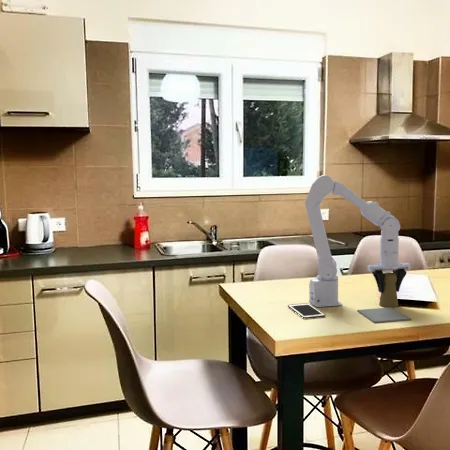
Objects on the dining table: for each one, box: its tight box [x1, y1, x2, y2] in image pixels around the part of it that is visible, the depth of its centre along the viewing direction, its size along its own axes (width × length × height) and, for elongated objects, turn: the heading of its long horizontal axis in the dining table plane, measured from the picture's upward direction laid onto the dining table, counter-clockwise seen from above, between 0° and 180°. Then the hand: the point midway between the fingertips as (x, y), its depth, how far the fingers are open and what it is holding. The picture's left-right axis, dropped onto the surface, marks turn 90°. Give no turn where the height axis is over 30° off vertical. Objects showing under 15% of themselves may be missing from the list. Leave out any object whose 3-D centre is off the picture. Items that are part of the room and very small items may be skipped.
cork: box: [379, 271, 399, 308], centre depth 160 cm, size 6×6×11 cm
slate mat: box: [356, 307, 412, 324], centre depth 150 cm, size 12×12×1 cm
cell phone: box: [287, 302, 326, 319], centre depth 156 cm, size 8×15×1 cm, turn 13°
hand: (388, 291), depth 160 cm, fingers open, 5 cm apart
